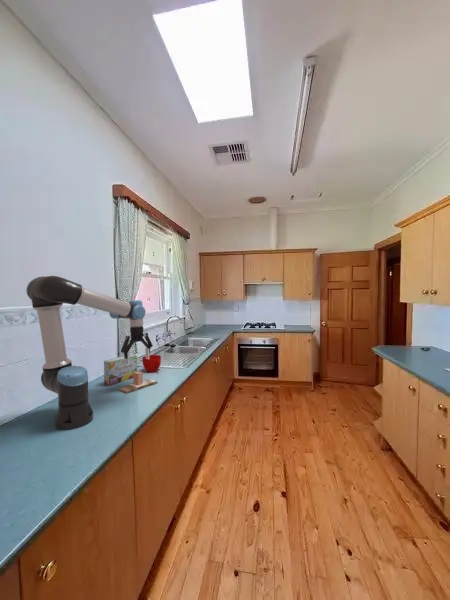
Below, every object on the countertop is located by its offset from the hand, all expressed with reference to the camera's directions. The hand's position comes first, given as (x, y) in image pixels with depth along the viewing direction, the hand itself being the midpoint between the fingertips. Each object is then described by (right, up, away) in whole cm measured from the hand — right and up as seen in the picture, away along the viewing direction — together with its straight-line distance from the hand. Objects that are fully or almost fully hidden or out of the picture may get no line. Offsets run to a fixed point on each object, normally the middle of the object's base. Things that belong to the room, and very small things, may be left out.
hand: (137, 361), depth 162 cm
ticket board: (0, -15, +1) cm, 15 cm away
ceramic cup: (+1, -14, +31) cm, 34 cm away
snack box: (-15, -15, +12) cm, 24 cm away
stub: (0, -14, 0) cm, 14 cm away
